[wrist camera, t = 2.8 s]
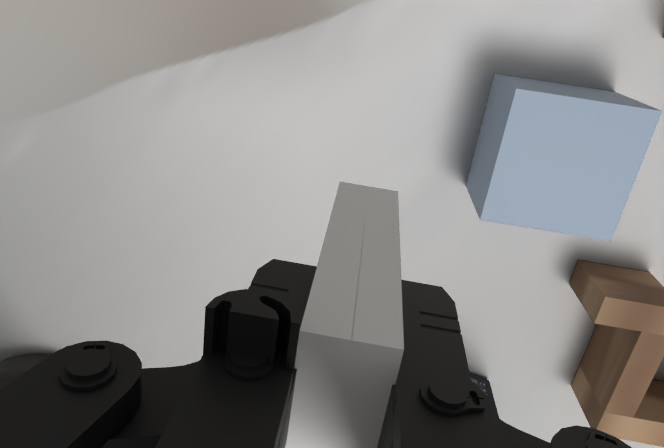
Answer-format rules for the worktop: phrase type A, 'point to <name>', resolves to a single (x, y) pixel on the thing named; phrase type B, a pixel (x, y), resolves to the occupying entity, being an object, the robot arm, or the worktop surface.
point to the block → (558, 156)
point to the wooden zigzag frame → (622, 352)
